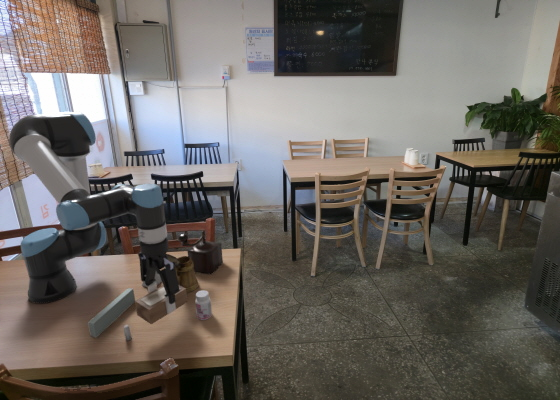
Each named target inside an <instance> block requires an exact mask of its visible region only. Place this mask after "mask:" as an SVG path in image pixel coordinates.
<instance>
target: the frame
mask: <svg viewBox="0 0 560 400" xmlns="http://www.w3.org/2000/svg"><path fill="white" fill-rule="evenodd" d="M179 290H180V291H179V292H178V293H176V294H175V306H176V310H177V309H179V308H181V307H182V306H184V305H185V304H187V303H188V297H187V296H188V295H187V294H188V292H187V293H186V288H184V287H182V286H180V285H179ZM165 294H166V291H165V288H164V286H163V285H162V286H161V287H157V289H156V290H154V291H152V292H151V293H149V294H148V293H147V294H145V295H143V296H141V297H140V298H137V299H135V302H134V304H135V310H136V315H137V316H138V317H139V318H141V319H142V320H144V321H145V322H146V323H148V324H150V325H153V324H155V323H156V322H158V321H159V320H161V319H163V318H164V317H166V316H167V315H169V314H167V309H166V302H165Z"/></svg>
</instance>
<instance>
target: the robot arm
mask: <svg viewBox="0 0 560 400" xmlns="http://www.w3.org/2000/svg"><path fill="white" fill-rule="evenodd" d="M96 141H97V140H96V131H95V128H94V127H93V124H92V122H91V121H90V119H89V118H88V117H87V116H86V115H85V114H84V113H82V112H80V111H79V112H77V111H74V112H73V111H64V112H63V111H62V112H53V113H43V114H42V113H41V114H29V115H27V116H23V117H22V118H21V119H19V120H18V121H17V122H16V123H15V124H14V125H13V126H12V128H11V130H10V131H9V139H8V142H9V147H10V149H11V151H12V152H13V154H14V155H15V157H17V159H19V160H20V161H22V162H24V163H26V164H27V166H28V167H29V168H30V169H31V171H32V172H33V173H34V174H35V176H36V177H37V178H38V179H39V181H40V182H41V183H42V184H43V185H44V187H45V188H46V190H47V191H48V192H49V193H50V195H51V196H52V197H53V198H54V200H55V201H56V202H57V205H56V208H55V213H56V217H57V219H58V221H59V224H60V226H61V227H62V228H61V229H59V230H58V229H57V228H55V227H48V228H42V229H39V230H35V231H33V232H31V233H30V234H27V235H26V236H25V237H24V238H22V240H21V241H20V250H21V255H22V257H23V261H24V264H25V268H26V271H27V274H28V275H27V276H28V279H29V280H28V281H29V282H28V290H27V296H28V300H29V301H30V302H31V303H33V304H48V303H53V302H56V301H58V300H61V299H63V298H66V297H67V296H69V295H71V294H72V293H73V292H74V291H75V290H76V288H77V281H76V278H74V276H73V274H72V273H71V272H70V270H69V269H68V268H67V264H66V262H67V261H69V260H72V259H75V258H78V257H80V256H84V255H86V254H89V253H93V252H95V251H97V250H99V249H102V247H104V245H105V244H106V241H107V232H106V229H105V225H104V223H103V222H104V221H106V220H111V219H115V218H117V217H121V216H124V215H127V214H129V215H132V216H135V220H136V226H137V232H138V233H137V234H138V235H137V236H138V239H139V246H140V252H138V254H137V255H138V259H139V269H140V280H141V282H142V283H143V281H145V284H146V285H147V287H146V290H147V294H149V293H151V292H152V291H154V290H156V289H158V285H157V284H156V282H154V281H156V279H155V273H156V272H157V274H159V275H160V278H161V280H162V281H161V283H162V286H164V288H165V291H166V294H165V302H166V309H167V314H168V315H170V314H171V313H172V312H174V311H176V310H177V309H176V306H175V294H176V293H178V292H179V291H180V290H179V285H178V280H177V275H176V270H175V262H174V261H172V262H170V261H169V260H168V258H167V255H166V254H168V253H167V252H168V250H169V239H168V230H167V223H166V215H165V214H166V213H165V206H164V197H163V193H162V188H161V186H159V185H158V184H156V183H144V184H141V183H140V184H138V185H136V186H133V185H131V184H126V183H125V184H124V183H122V184H121V183H120V184H119V183H118V184H116V185H115V186H113V187H112V188H111V189H110V190H108V191H103V192H99V193H96V194H91V190H90V182H89V181H90V180H89V173H88V165H87V156H89V154H90V152H91V150H90V147H91V146H93V145H95V143H96ZM145 275H146V276H145ZM153 282H154V283H153Z"/></svg>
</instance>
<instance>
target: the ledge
mask: <svg viewBox="0 0 560 400" xmlns="http://www.w3.org/2000/svg"><path fill="white" fill-rule="evenodd" d="M135 301H136V298H135V292H134V288H131V287H128V288H126V289H125V290H124V291H123V292H122V293H121V294H120V295H118V296H117V297H116V298H115V299H113V300H112V301H111V302H110V303H109V304H108V305H107V306H106V307H104V308H103V309H101V311H99V312H98V313H97V314H96V315H95V316H94V317H92V318H91V319H90V320H89V321H88V322H87V325H88V329H89V333H90V337H93V338H98V337H99V336H100V335H101V334H102V333H103V332H104V331H105V330H106V329H107V328H108V327H109V326H110V325H111V324H113V323H114V322H115V321H116V320H117V319H118V318H119V317H120V316H121V315H122V314H123V313H124V312H125V311H127V309H129V308H130V307H131V306H132V305H133V304H135ZM123 332H124V338H125V341H130V340H132V333H131V328H130V325H129V324H125V325H123Z"/></svg>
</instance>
